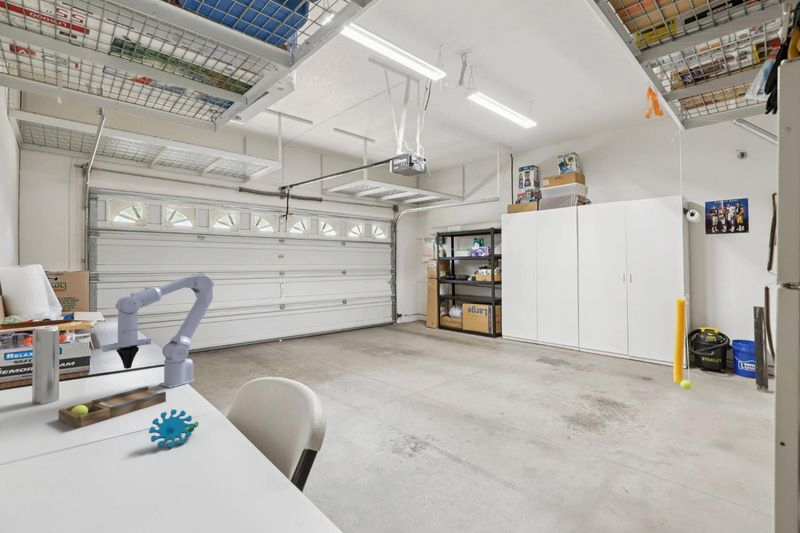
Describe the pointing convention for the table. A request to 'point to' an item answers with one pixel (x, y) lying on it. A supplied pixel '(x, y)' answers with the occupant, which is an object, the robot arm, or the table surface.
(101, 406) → the wooden tray
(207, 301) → the robot arm
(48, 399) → the silver metal cylinder
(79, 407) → the ball
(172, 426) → the gear
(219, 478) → the table surface
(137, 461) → the table surface
